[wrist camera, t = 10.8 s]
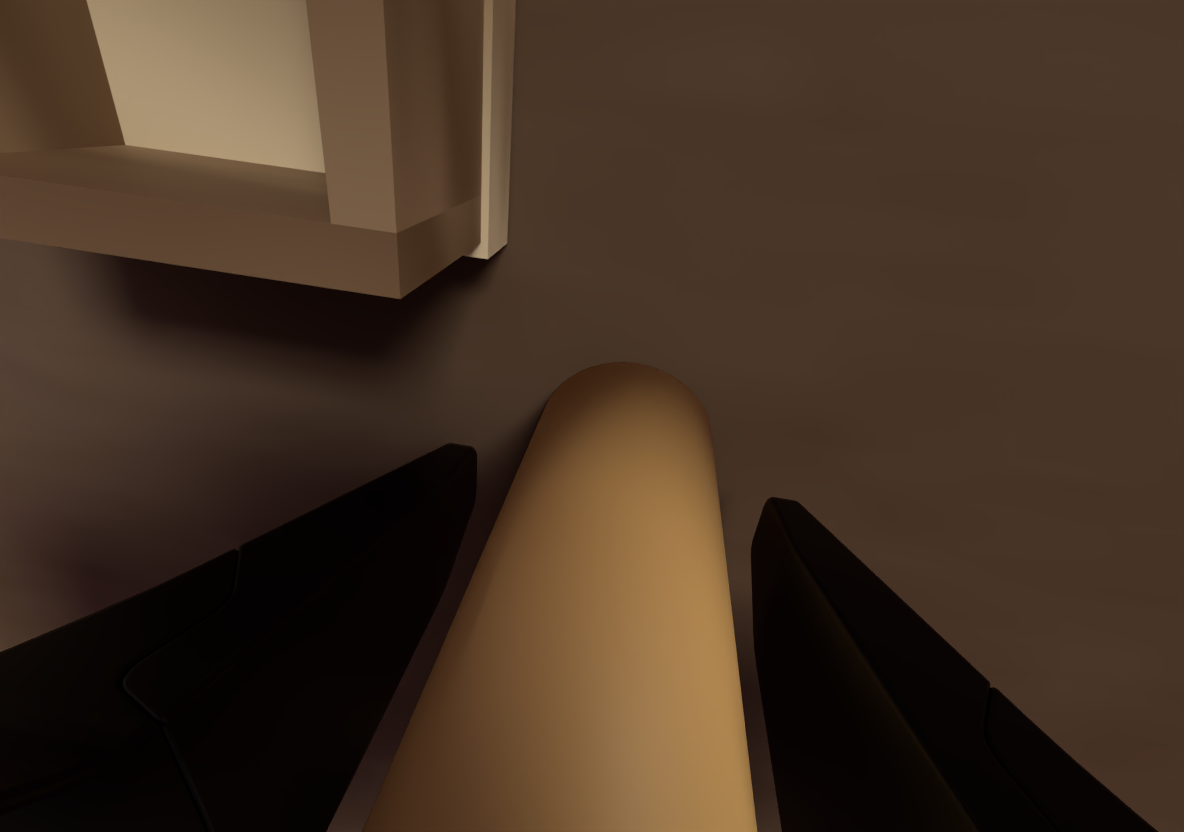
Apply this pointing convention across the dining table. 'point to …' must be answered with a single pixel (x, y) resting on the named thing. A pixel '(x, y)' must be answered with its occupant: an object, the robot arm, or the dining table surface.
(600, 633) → the peg
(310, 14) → the board
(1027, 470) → the dining table surface
